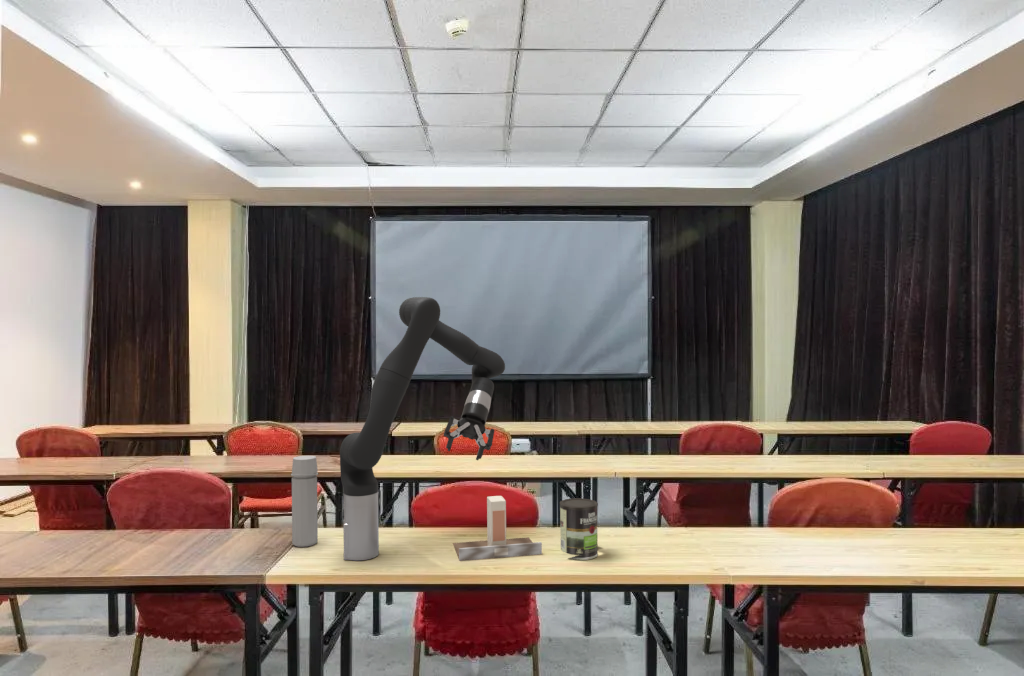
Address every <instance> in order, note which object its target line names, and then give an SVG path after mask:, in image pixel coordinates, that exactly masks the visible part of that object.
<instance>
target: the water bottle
mask: <svg viewBox="0 0 1024 676" xmlns="http://www.w3.org/2000/svg"><path fill="white" fill-rule="evenodd" d="M318 472H319V471H318V462H317V456H316V455H299V456H294V457H293V458H292V466H291V473H290V476H291V532H292V533H291V538H292V539H291V541H292V542H291V544H292V546H295V547H297V548H307V547H310V546H311V547H312V546H314V545H315V544H317V542H318V537H319V536H318V535H319V533H318V524H319V523H318V475H319V473H318Z"/></svg>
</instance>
